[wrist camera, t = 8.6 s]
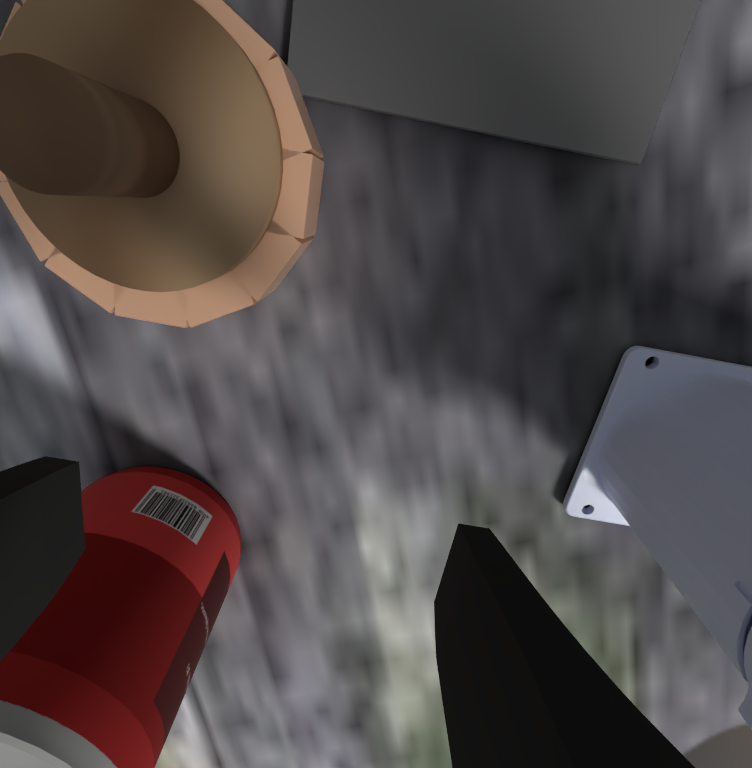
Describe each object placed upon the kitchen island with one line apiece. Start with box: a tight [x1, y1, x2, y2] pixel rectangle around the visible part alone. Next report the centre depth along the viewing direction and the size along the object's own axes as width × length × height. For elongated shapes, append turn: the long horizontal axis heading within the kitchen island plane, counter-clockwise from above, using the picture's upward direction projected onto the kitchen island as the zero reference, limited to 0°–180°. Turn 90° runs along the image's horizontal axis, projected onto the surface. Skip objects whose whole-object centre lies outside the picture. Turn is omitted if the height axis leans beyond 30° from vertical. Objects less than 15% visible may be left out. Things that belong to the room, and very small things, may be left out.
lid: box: [0, 0, 283, 292], centre depth 11 cm, size 8×8×4 cm
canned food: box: [0, 466, 241, 768], centre depth 17 cm, size 8×8×11 cm
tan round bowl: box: [0, 0, 325, 328], centre depth 14 cm, size 9×9×3 cm
